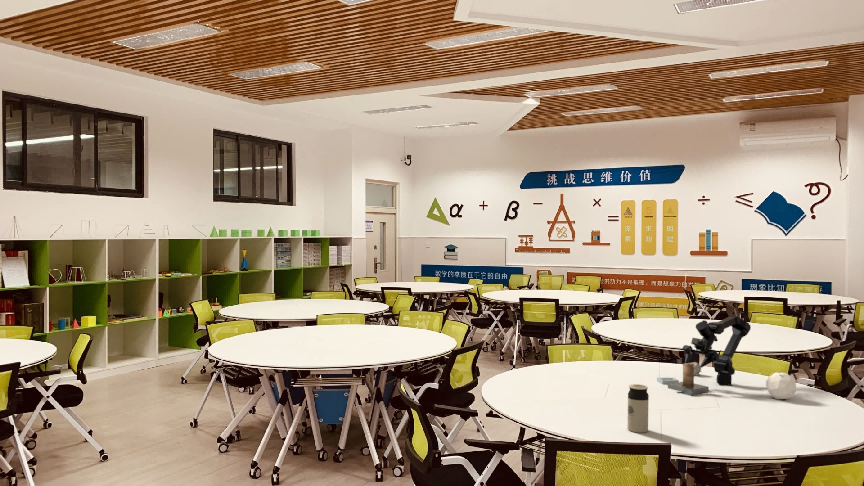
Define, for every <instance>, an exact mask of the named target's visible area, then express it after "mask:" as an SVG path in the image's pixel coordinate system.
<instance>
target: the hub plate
mask: <svg viewBox="0 0 864 486" xmlns="http://www.w3.org/2000/svg"><path fill="white" fill-rule="evenodd" d="M667 389H671V390H673V391H676V392H677V393H678V394H682V395H686V396H690V397H693V396H698V395H699V396H700V395H703V394H709V390H710V389H709V386H708V385H707V386H706V385H703V384H700V383H699V384H697V383H694V386H693V387H685V386H683V381H679V382H678V383H672V384H667Z"/></svg>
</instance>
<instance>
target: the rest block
mask: <svg viewBox="0 0 864 486" xmlns="http://www.w3.org/2000/svg"><path fill="white" fill-rule="evenodd" d="M656 382H658V383H659V384H661V385H668V384H672V383H678V382H680V380H679V379H676V377H656Z"/></svg>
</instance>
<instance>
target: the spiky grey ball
mask: <svg viewBox="0 0 864 486" xmlns="http://www.w3.org/2000/svg"><path fill="white" fill-rule="evenodd" d="M691 363H692V364H694V376H696V375H698V376H700V372H701V373H702V367H701V364H700V362H696V361H694V362H691Z"/></svg>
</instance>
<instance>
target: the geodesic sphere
mask: <svg viewBox="0 0 864 486" xmlns="http://www.w3.org/2000/svg"><path fill="white" fill-rule="evenodd" d="M765 387H766V390H767V392H768V394H769V395H770V396H772V397H773V399H776V400H779V399H787V400H789V399H791V398H792V397H794V396H795V394H796V392H797V382H796V381H795V379H794V378H793V377H792V376H791V375H790V374H788V373H786V372H780V371H778V372H776V371H775V372H774V373H773V374H771V375H769V376H768V377H767V379H766V380H765Z"/></svg>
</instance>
